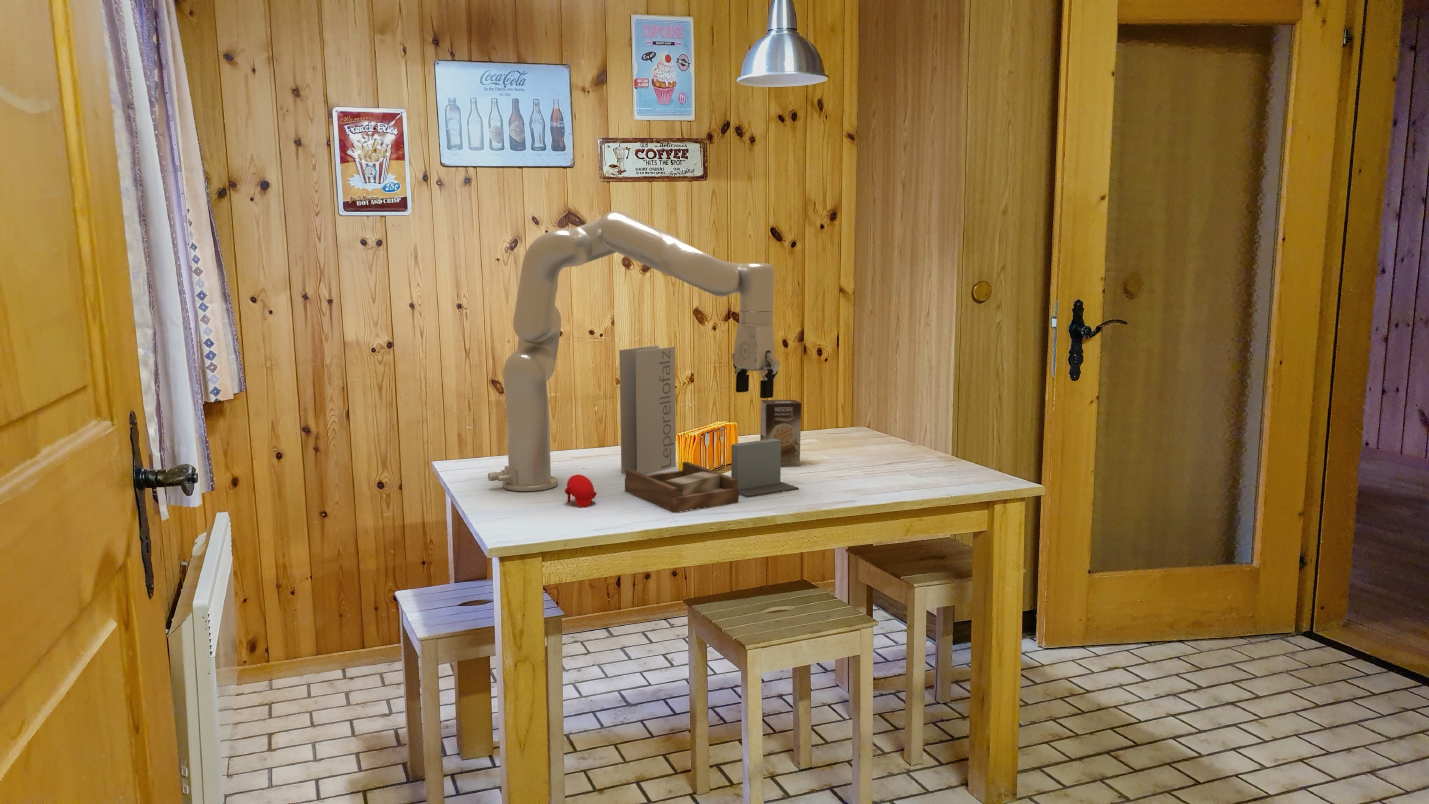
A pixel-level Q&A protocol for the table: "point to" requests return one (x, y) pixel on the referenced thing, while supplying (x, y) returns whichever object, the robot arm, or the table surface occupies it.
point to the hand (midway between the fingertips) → (754, 394)
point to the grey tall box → (647, 409)
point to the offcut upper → (695, 483)
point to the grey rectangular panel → (756, 463)
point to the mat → (766, 489)
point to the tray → (667, 495)
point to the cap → (580, 490)
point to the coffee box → (783, 427)
